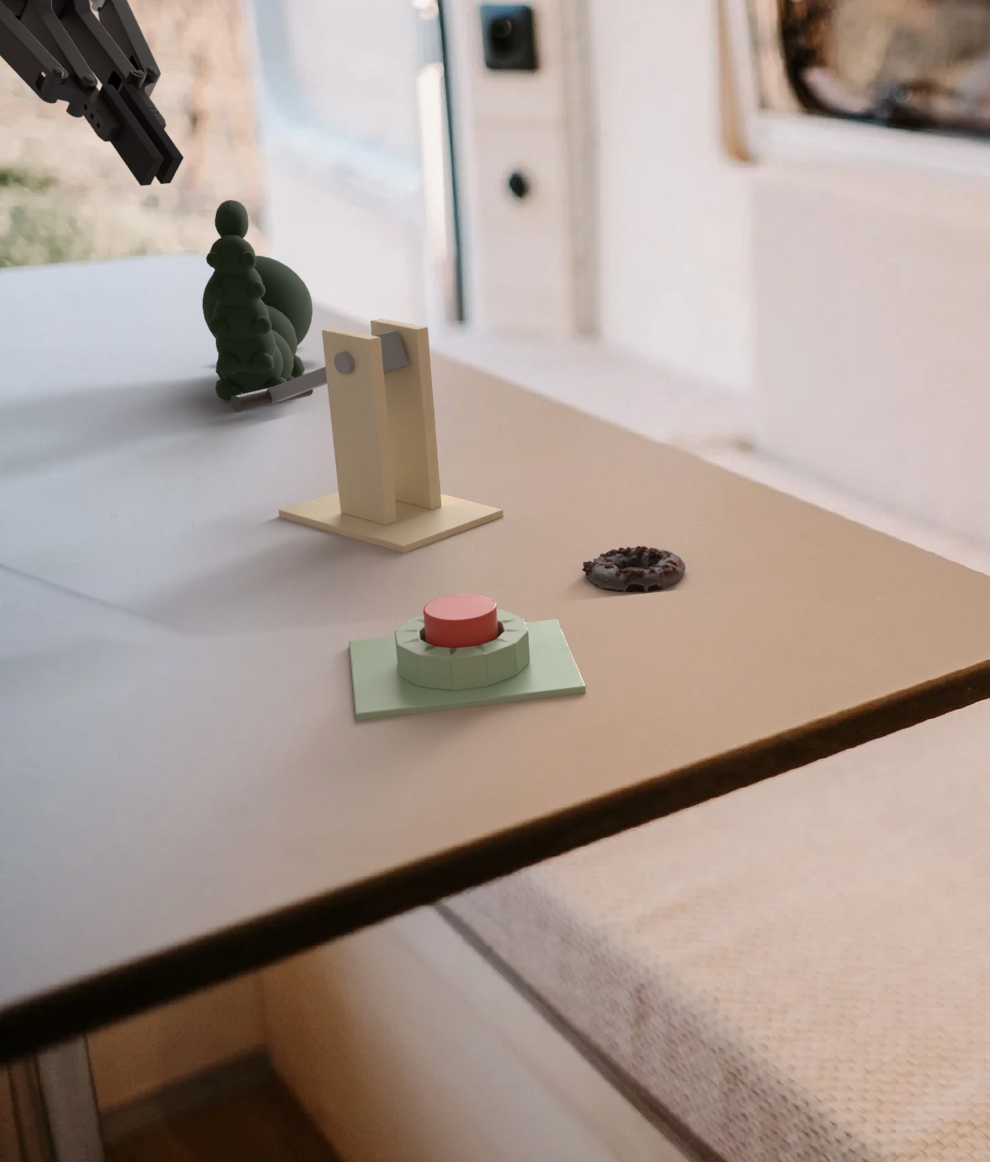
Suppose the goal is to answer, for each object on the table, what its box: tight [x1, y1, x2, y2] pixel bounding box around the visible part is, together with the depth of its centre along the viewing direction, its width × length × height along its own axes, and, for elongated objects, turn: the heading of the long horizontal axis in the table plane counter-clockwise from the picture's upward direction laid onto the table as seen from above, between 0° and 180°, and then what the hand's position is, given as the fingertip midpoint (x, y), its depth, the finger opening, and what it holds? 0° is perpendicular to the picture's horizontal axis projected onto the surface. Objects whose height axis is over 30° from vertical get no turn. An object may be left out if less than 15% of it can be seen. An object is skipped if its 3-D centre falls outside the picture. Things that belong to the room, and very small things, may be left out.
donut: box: [581, 545, 686, 593], centre depth 91 cm, size 8×8×2 cm
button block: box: [348, 608, 587, 722], centre depth 76 cm, size 11×9×4 cm
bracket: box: [278, 318, 504, 554], centre depth 98 cm, size 12×9×14 cm
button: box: [422, 593, 498, 648], centre depth 75 cm, size 4×4×2 cm
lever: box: [230, 330, 409, 414], centre depth 99 cm, size 14×6×2 cm, turn 59°
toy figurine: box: [201, 199, 314, 402], centre depth 130 cm, size 9×19×25 cm
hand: (162, 171), depth 102 cm, fingers closed
